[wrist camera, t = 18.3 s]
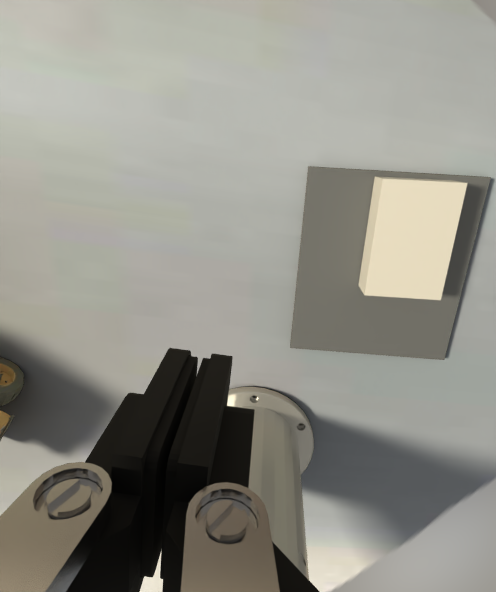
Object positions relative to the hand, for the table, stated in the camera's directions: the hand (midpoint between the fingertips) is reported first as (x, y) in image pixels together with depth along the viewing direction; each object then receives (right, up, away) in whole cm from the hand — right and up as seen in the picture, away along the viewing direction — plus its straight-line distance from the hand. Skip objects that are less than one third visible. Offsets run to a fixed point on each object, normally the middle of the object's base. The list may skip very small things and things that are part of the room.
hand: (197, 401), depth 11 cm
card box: (+11, +8, +21) cm, 25 cm away
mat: (+13, +5, +24) cm, 28 cm away
